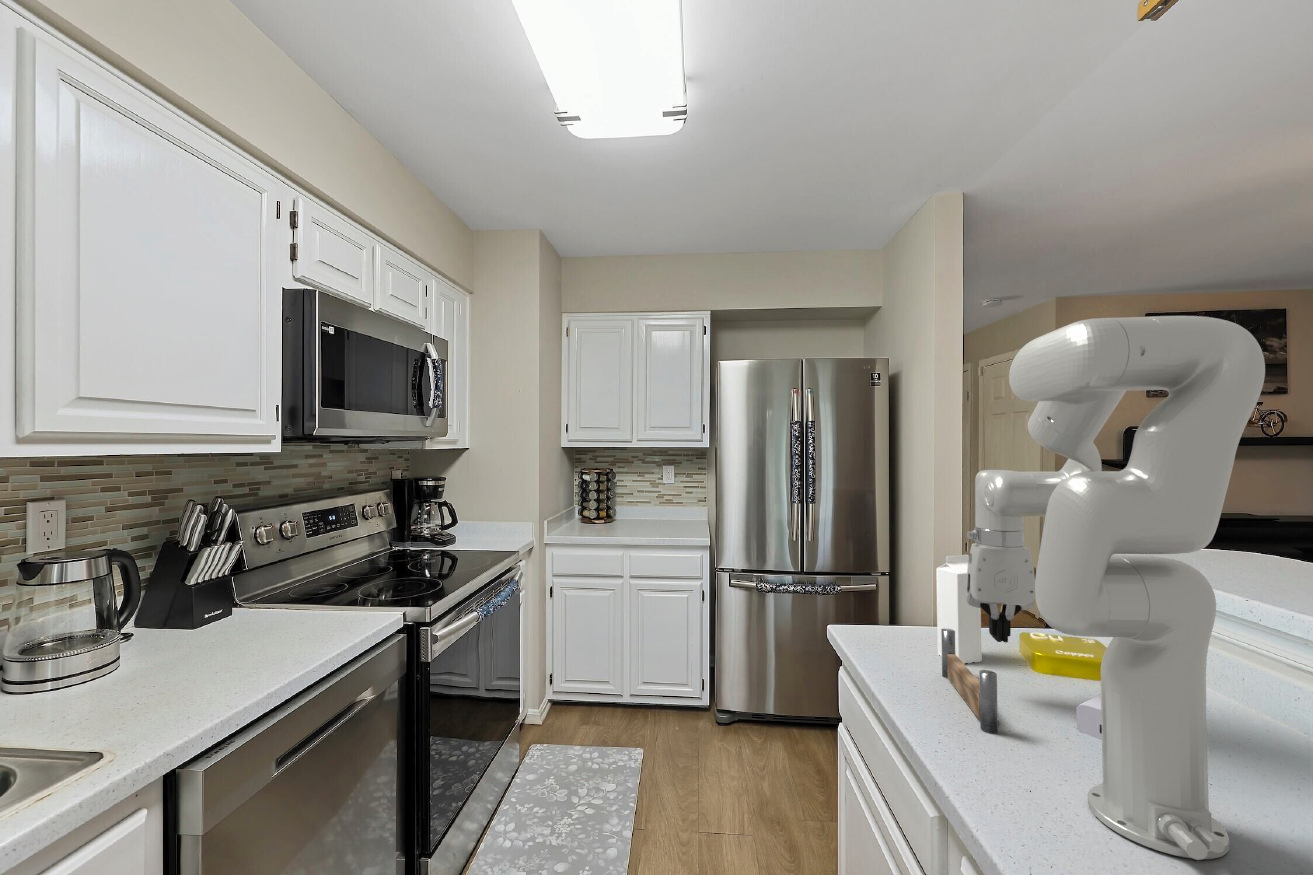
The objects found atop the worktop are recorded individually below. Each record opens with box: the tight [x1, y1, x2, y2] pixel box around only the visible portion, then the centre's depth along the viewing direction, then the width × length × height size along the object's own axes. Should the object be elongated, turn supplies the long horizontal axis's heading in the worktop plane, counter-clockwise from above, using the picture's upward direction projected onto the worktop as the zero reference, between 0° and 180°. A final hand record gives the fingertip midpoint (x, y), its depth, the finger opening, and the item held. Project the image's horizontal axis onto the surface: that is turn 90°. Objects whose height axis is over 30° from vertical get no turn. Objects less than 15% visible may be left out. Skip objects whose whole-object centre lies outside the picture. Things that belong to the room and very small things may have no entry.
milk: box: [935, 554, 983, 665], centre depth 122 cm, size 6×6×22 cm
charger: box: [1075, 693, 1102, 741], centre depth 90 cm, size 5×9×15 cm
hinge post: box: [979, 669, 999, 734], centre depth 91 cm, size 2×2×9 cm
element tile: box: [1018, 631, 1108, 682], centre depth 118 cm, size 15×15×5 cm
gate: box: [947, 654, 980, 721], centre depth 101 cm, size 18×2×4 cm, turn 168°
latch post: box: [941, 629, 955, 679], centre depth 112 cm, size 2×2×9 cm
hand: (999, 639), depth 103 cm, fingers closed
